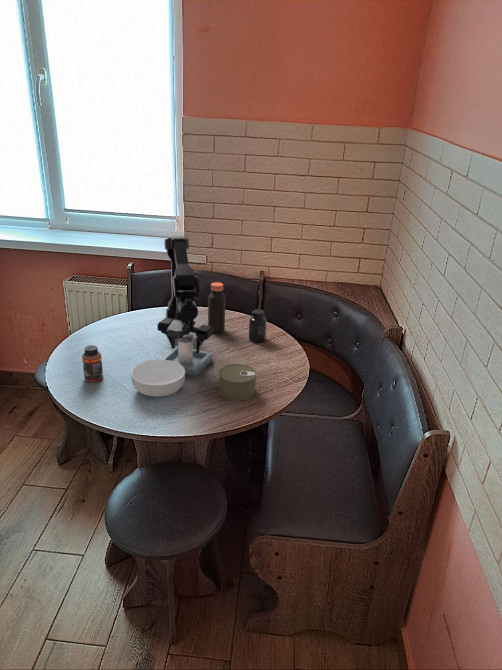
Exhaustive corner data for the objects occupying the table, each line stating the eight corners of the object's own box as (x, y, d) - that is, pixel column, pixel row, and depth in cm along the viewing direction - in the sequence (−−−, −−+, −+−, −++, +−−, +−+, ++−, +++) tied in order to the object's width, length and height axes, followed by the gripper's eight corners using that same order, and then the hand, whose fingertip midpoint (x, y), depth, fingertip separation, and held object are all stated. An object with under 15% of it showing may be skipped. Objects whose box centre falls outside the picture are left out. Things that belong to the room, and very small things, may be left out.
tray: (158, 369, 171) (157, 361, 170) (177, 353, 183) (176, 345, 182) (195, 377, 167) (195, 370, 166) (211, 360, 179) (212, 353, 178)
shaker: (175, 364, 173) (174, 337, 169) (182, 357, 177) (181, 331, 173) (188, 367, 171) (188, 340, 167) (195, 360, 176) (195, 334, 172)
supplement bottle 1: (107, 376, 165) (104, 345, 160) (96, 384, 160) (93, 353, 155) (91, 372, 167) (88, 342, 162) (80, 380, 162) (77, 349, 157)
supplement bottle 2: (266, 336, 200) (267, 309, 195) (264, 343, 194) (266, 315, 189) (249, 335, 200) (250, 307, 196) (247, 342, 194) (248, 314, 189)
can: (219, 381, 166) (220, 362, 163) (255, 382, 166) (256, 364, 163) (216, 400, 155) (217, 381, 152) (255, 402, 155) (256, 383, 152)
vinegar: (205, 332, 201) (205, 285, 193) (211, 326, 207) (212, 280, 199) (221, 335, 199) (222, 287, 191) (226, 328, 205) (228, 282, 197)
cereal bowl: (161, 410, 148) (160, 390, 145) (120, 393, 156) (119, 373, 153) (196, 387, 161) (196, 368, 158) (157, 372, 169) (156, 354, 166)
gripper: (148, 312, 162) (150, 355, 168) (200, 322, 157) (200, 366, 163) (164, 301, 172) (165, 342, 178) (214, 310, 166) (213, 352, 173)
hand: (185, 350), depth 173 cm, fingers open, 9 cm apart
